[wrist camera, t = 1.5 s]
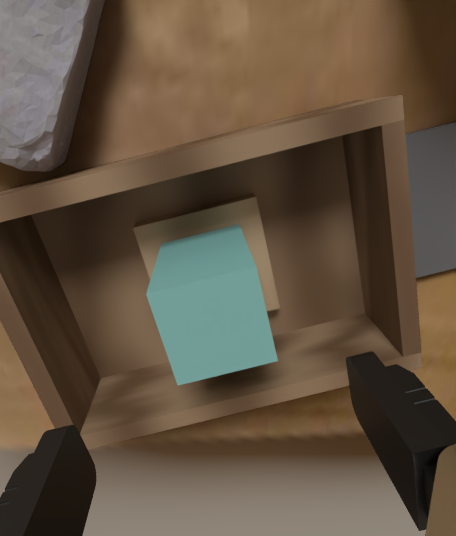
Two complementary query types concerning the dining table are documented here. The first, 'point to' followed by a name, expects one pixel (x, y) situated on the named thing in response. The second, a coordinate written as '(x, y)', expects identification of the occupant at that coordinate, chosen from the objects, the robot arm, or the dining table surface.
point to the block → (210, 306)
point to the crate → (200, 221)
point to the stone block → (43, 77)
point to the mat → (433, 197)
